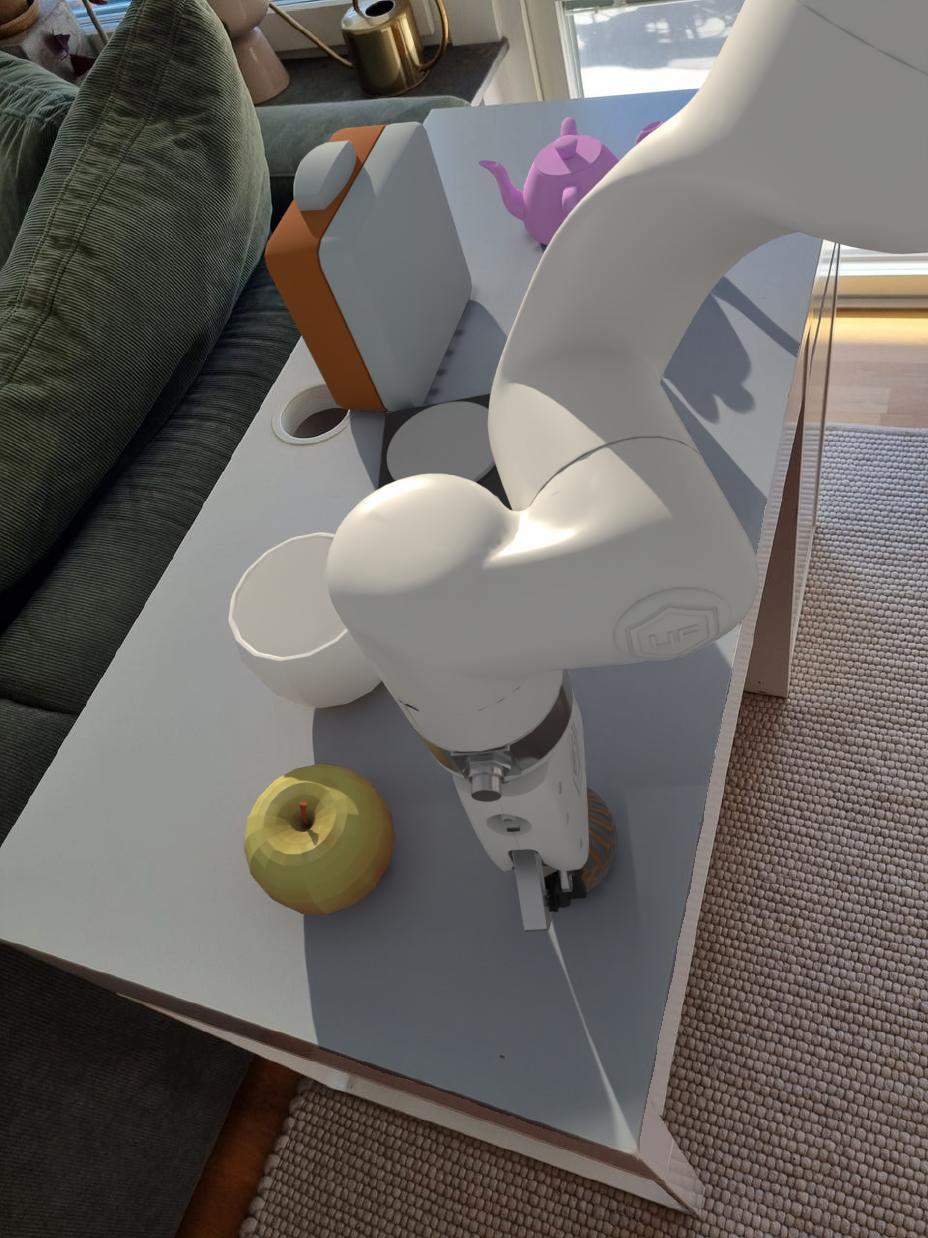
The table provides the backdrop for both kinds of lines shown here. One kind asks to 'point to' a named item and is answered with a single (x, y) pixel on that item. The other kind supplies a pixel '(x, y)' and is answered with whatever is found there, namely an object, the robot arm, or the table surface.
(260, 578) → the cup
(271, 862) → the apple
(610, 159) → the teapot
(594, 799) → the vase
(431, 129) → the table surface
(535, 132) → the table surface
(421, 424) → the scale
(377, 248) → the alarm clock
